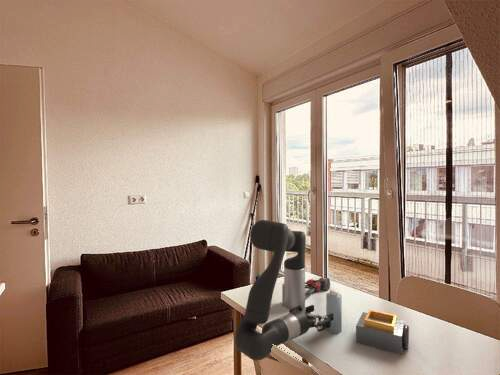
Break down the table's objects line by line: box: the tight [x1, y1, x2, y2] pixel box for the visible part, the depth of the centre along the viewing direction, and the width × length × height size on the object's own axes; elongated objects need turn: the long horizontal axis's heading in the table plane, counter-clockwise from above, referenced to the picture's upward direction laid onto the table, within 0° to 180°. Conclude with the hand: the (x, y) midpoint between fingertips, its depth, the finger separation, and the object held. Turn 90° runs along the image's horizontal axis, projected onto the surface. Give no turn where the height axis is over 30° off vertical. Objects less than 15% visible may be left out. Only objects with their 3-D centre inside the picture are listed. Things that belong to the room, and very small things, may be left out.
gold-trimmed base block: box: [355, 309, 410, 356], centre depth 102 cm, size 16×12×8 cm
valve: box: [305, 276, 331, 300], centre depth 149 cm, size 6×26×15 cm
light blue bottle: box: [325, 288, 343, 334], centre depth 110 cm, size 6×6×15 cm
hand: (322, 311), depth 106 cm, fingers open, 8 cm apart
